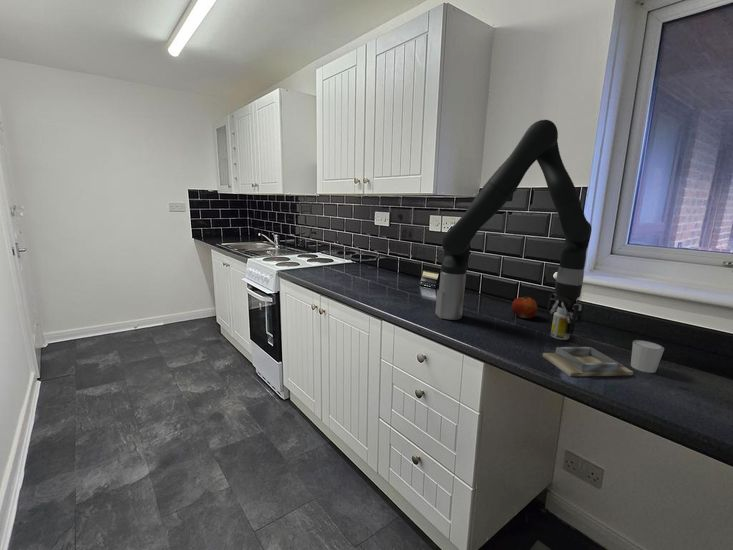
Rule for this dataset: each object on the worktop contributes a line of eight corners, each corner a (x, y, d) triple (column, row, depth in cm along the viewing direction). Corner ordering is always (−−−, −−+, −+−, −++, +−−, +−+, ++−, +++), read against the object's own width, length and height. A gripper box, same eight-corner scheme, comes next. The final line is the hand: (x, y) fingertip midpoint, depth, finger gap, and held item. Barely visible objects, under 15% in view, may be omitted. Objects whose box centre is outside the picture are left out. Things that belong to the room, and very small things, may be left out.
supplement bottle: (572, 339, 119) (578, 309, 116) (561, 341, 116) (566, 311, 114) (557, 333, 123) (562, 305, 121) (546, 335, 121) (551, 306, 119)
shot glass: (622, 362, 103) (626, 339, 101) (644, 362, 103) (649, 339, 102) (641, 374, 96) (647, 349, 94) (665, 374, 97) (671, 349, 95)
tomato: (538, 321, 135) (541, 301, 133) (512, 319, 136) (515, 298, 135) (532, 314, 144) (535, 295, 142) (508, 311, 145) (510, 292, 144)
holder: (569, 376, 93) (571, 365, 92) (542, 356, 104) (544, 346, 104) (632, 375, 95) (634, 364, 94) (598, 355, 107) (600, 346, 106)
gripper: (545, 276, 122) (538, 321, 126) (573, 286, 108) (564, 337, 112) (565, 276, 123) (557, 321, 126) (596, 287, 109) (586, 337, 113)
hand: (560, 328), depth 119 cm, fingers open, 7 cm apart
